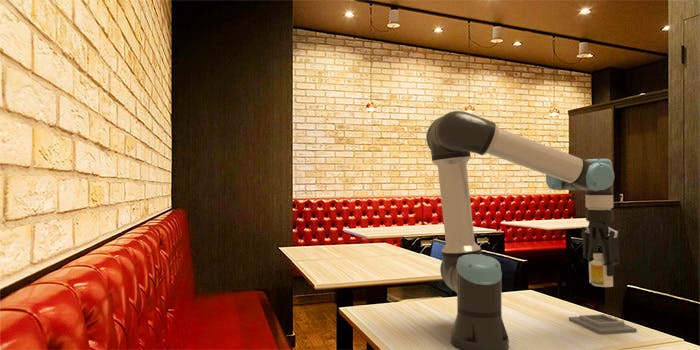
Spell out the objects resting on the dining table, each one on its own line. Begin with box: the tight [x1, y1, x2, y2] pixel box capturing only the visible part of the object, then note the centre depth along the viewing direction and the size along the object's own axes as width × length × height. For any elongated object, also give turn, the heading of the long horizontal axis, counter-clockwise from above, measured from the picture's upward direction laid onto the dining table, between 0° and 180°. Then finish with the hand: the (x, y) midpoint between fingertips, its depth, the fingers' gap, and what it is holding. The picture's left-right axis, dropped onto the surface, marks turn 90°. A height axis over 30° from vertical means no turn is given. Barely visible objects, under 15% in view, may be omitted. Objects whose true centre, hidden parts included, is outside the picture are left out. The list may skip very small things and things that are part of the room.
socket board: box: [568, 313, 638, 335], centre depth 139 cm, size 12×14×2 cm
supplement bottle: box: [590, 252, 605, 288], centre depth 140 cm, size 5×5×10 cm
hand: (600, 284), depth 140 cm, fingers closed on supplement bottle, 5 cm apart
